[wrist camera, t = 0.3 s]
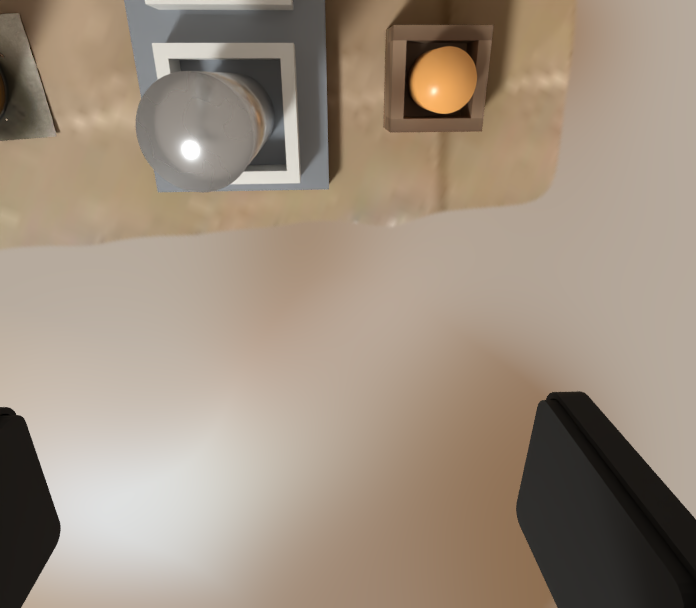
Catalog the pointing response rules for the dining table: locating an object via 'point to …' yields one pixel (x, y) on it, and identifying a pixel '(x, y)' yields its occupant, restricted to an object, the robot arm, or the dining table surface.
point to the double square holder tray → (248, 73)
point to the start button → (442, 79)
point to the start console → (401, 55)
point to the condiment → (20, 86)
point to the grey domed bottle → (203, 127)
